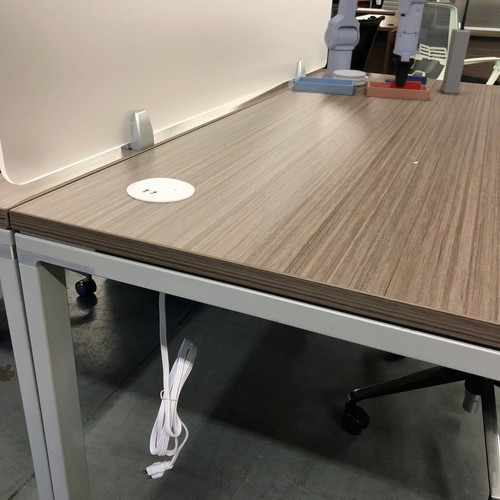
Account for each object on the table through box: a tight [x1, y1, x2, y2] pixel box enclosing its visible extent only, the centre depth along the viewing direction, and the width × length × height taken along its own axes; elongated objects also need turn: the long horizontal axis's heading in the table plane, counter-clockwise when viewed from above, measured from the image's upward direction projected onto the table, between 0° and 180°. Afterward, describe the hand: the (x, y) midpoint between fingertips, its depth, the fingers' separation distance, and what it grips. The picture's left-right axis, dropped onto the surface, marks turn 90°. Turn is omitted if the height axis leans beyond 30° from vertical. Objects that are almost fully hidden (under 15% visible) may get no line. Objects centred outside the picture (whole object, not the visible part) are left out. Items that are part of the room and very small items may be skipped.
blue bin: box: [293, 76, 355, 96], centre depth 144 cm, size 10×16×2 cm, turn 77°
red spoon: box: [375, 80, 421, 90], centre depth 140 cm, size 12×4×3 cm, turn 77°
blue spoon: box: [384, 74, 428, 85], centre depth 154 cm, size 12×4×3 cm, turn 77°
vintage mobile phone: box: [439, 0, 471, 95], centre depth 141 cm, size 4×5×25 cm
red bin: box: [366, 80, 430, 101], centre depth 140 cm, size 10×16×2 cm, turn 77°
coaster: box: [333, 69, 367, 87], centre depth 154 cm, size 10×10×4 cm
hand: (399, 86), depth 140 cm, fingers closed on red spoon
